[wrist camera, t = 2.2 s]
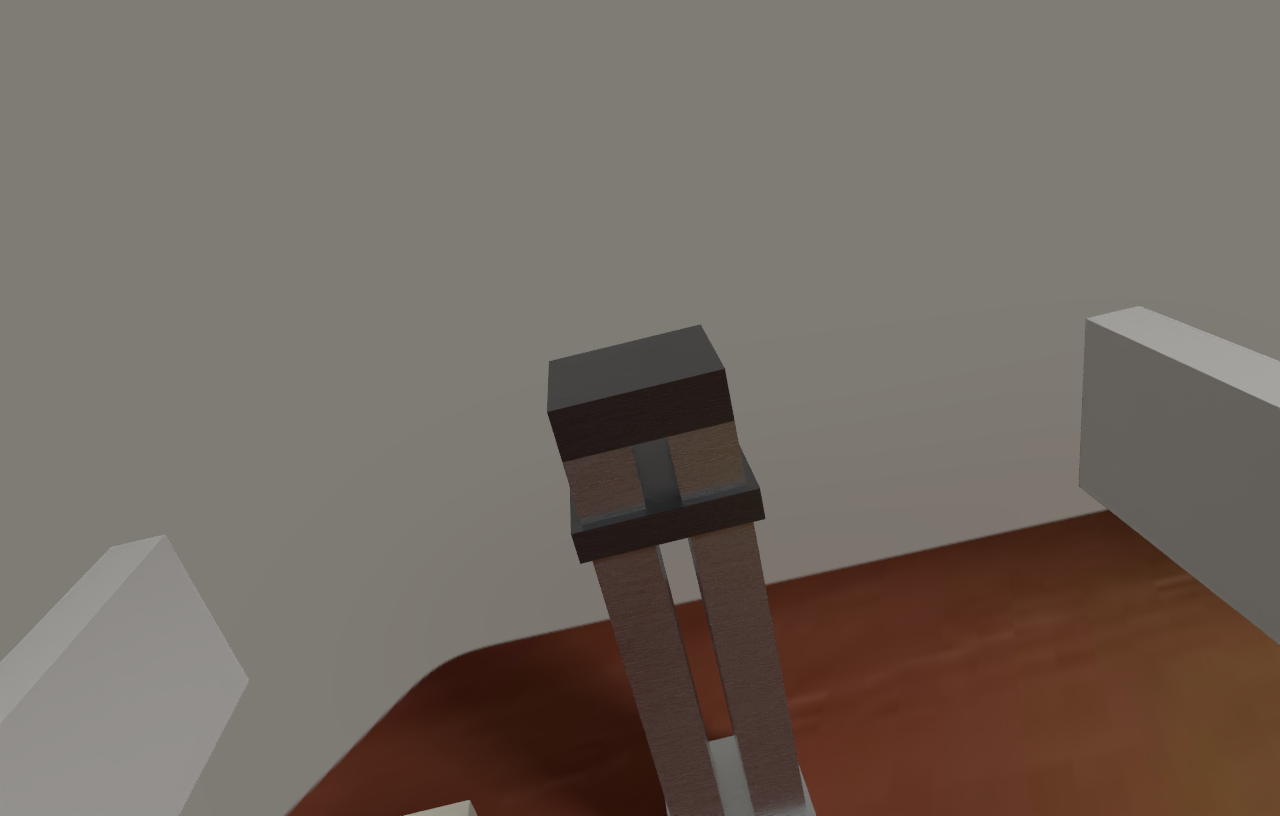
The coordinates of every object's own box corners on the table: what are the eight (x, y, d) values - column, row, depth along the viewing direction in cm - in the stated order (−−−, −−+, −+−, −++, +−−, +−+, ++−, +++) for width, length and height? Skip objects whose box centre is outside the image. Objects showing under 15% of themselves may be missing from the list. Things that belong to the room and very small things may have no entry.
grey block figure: (791, 757, 31) (706, 316, 23) (828, 870, 26) (741, 374, 18) (668, 787, 31) (539, 356, 23) (686, 905, 26) (534, 424, 18)
